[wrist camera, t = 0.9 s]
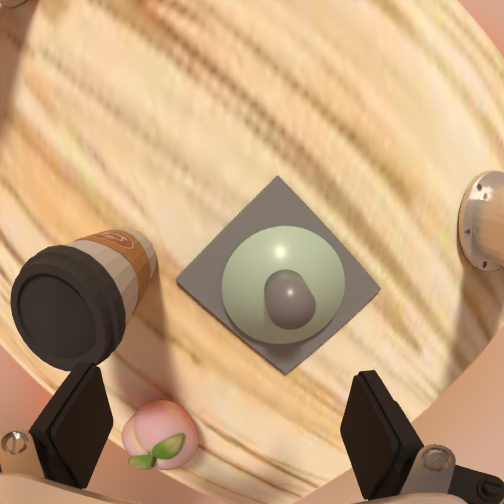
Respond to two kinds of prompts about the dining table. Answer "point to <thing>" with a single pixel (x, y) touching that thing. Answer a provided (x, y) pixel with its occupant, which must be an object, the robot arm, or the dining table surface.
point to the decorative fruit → (160, 436)
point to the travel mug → (11, 2)
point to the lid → (283, 284)
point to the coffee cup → (82, 296)
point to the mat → (249, 222)
